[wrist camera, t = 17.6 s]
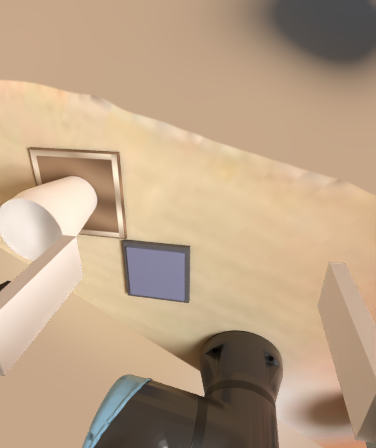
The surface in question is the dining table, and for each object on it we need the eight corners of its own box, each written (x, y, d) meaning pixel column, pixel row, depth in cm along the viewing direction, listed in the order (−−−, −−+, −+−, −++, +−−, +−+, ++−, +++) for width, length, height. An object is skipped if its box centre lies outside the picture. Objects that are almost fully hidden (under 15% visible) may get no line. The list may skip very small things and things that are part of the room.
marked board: (127, 237, 51) (125, 239, 50) (48, 229, 53) (46, 231, 52) (119, 152, 45) (117, 153, 44) (30, 147, 47) (27, 148, 46)
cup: (116, 199, 47) (78, 236, 37) (83, 232, 51) (40, 274, 41) (71, 155, 46) (17, 181, 35) (40, 193, 49) (-17, 226, 39)
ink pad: (189, 299, 54) (188, 304, 53) (129, 292, 56) (127, 296, 55) (190, 246, 50) (188, 250, 48) (124, 239, 51) (121, 243, 50)
